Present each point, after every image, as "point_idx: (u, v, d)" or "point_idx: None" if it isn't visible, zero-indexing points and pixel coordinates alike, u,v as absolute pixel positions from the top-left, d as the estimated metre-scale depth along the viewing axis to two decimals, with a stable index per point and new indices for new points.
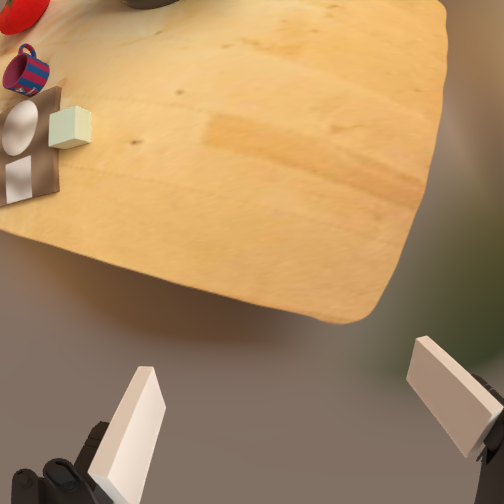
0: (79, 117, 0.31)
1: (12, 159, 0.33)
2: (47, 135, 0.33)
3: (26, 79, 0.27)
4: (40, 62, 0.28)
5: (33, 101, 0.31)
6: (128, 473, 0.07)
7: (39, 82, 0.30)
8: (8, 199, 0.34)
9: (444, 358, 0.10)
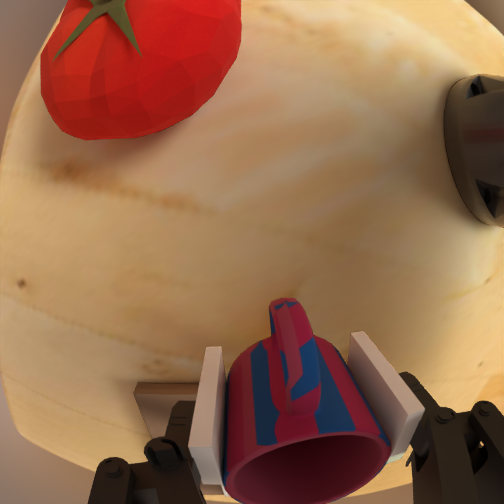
0: None
1: None
2: None
3: None
4: None
5: None
6: (218, 444, 0.08)
7: None
8: (228, 494, 0.23)
9: (373, 353, 0.12)
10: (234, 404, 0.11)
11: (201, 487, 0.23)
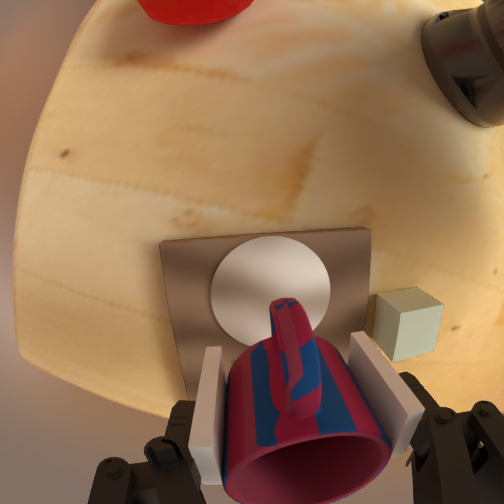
0: None
1: None
2: (353, 323, 0.24)
3: None
4: None
5: (311, 247, 0.23)
6: (218, 444, 0.08)
7: None
8: None
9: (373, 353, 0.12)
10: (234, 405, 0.11)
11: None
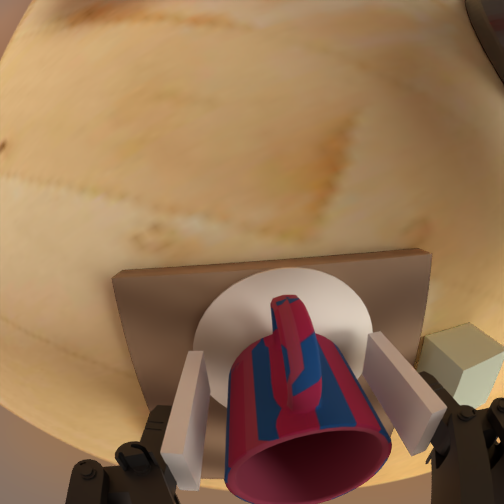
0: None
1: None
2: None
3: None
4: None
5: (350, 283, 0.14)
6: (193, 451, 0.08)
7: None
8: None
9: (392, 354, 0.11)
10: (236, 401, 0.11)
11: (208, 466, 0.17)
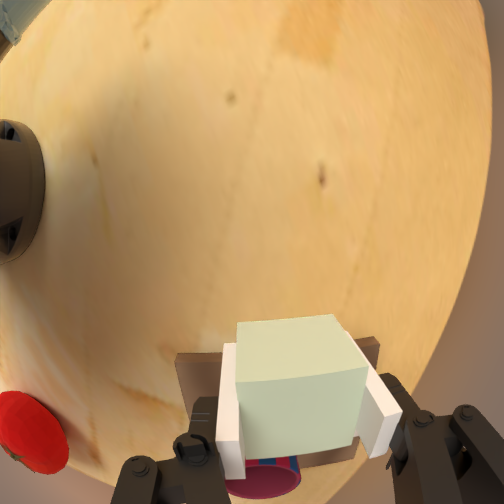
0: (279, 361, 0.10)
1: None
2: None
3: None
4: None
5: None
6: (241, 438, 0.09)
7: None
8: (356, 433, 0.24)
9: None
10: None
11: (340, 449, 0.25)
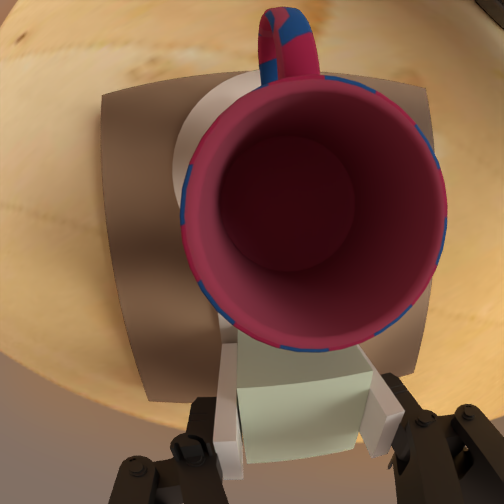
0: (281, 366, 0.10)
1: None
2: None
3: None
4: None
5: None
6: (239, 439, 0.09)
7: None
8: None
9: None
10: None
11: (185, 377, 0.15)
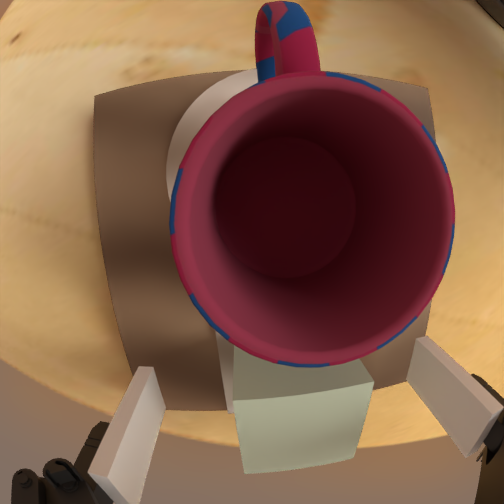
0: (279, 376, 0.10)
1: None
2: None
3: None
4: None
5: None
6: (128, 473, 0.07)
7: None
8: None
9: (444, 358, 0.10)
10: None
11: (181, 384, 0.14)
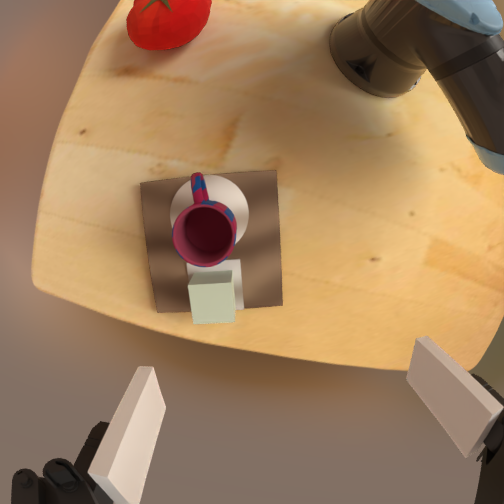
0: (203, 281, 0.33)
1: None
2: (270, 238, 0.36)
3: None
4: (231, 215, 0.32)
5: (234, 181, 0.34)
6: (128, 473, 0.07)
7: None
8: None
9: (444, 358, 0.10)
10: None
11: (174, 297, 0.38)
